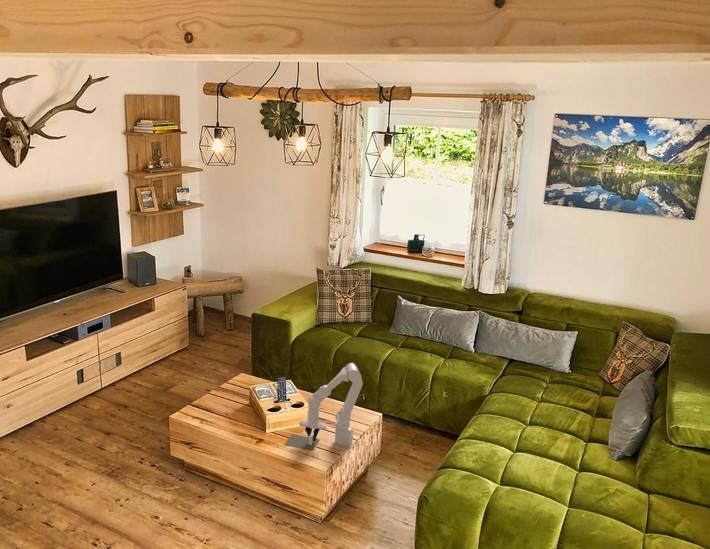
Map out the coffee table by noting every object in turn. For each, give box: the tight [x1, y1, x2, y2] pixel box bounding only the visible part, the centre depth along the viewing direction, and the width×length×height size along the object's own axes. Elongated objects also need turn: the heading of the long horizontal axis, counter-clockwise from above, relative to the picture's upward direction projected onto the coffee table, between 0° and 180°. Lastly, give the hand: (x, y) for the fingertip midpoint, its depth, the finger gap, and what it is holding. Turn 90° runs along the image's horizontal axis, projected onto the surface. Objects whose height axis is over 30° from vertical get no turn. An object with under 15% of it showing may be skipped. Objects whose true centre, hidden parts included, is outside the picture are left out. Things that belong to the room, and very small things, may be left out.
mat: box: [283, 433, 321, 452], centre depth 331 cm, size 16×12×1 cm
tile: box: [309, 430, 316, 445], centre depth 330 cm, size 2×6×5 cm, turn 164°
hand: (312, 439), depth 331 cm, fingers closed on tile, 2 cm apart
